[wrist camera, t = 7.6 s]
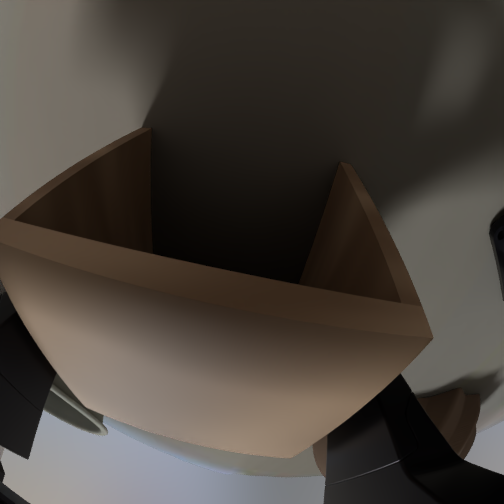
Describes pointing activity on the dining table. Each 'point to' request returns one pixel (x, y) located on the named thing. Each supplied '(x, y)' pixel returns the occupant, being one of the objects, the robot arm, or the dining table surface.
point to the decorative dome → (436, 422)
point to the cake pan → (73, 409)
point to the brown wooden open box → (207, 313)
